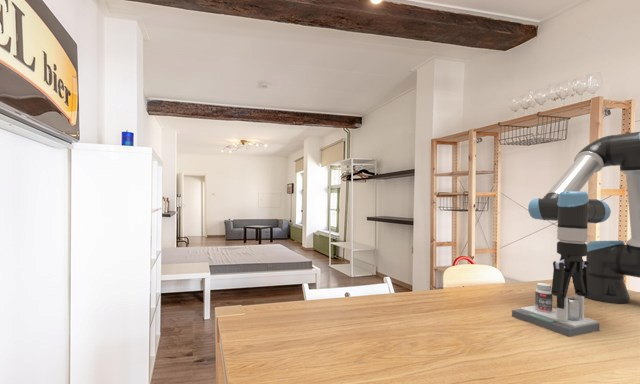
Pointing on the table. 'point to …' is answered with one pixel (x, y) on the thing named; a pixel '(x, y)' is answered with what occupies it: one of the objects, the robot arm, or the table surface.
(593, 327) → the kitchen scale
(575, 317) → the cylinder
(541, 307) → the pill bottle
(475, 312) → the table surface
